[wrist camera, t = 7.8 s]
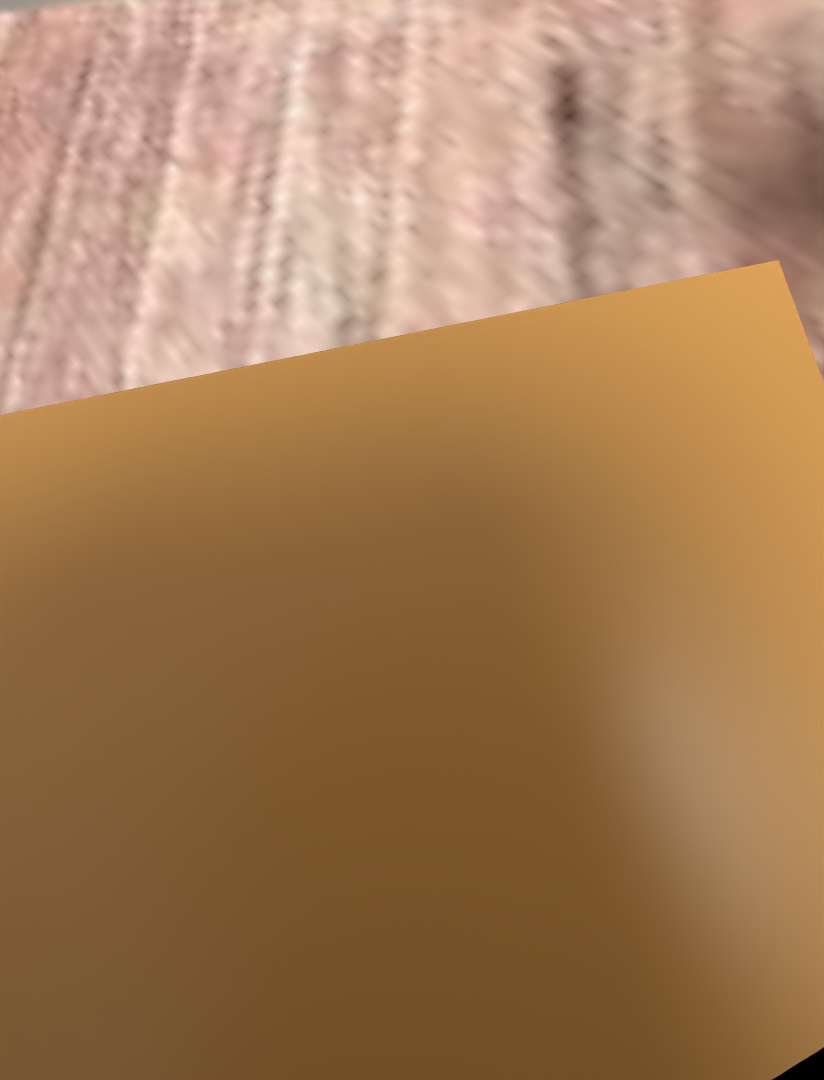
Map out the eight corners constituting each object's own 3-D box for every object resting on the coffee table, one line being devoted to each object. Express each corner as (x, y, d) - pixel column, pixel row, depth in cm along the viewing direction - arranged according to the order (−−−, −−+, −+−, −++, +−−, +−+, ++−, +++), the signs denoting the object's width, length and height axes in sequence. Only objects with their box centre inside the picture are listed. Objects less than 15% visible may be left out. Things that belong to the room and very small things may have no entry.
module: (568, 724, 14) (1111, 1151, 2) (393, 742, 14) (-77, 1163, 2) (542, 583, 15) (780, 259, 3) (379, 606, 15) (-1, 415, 3)
